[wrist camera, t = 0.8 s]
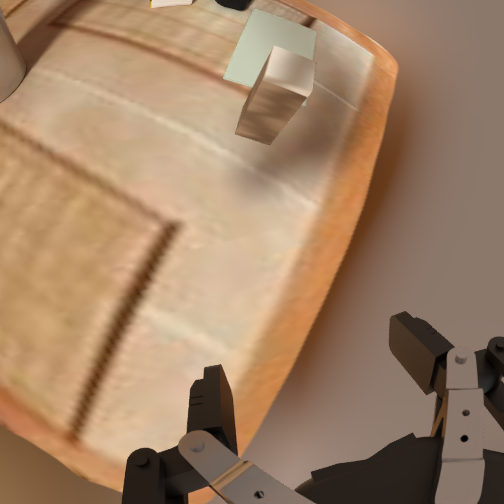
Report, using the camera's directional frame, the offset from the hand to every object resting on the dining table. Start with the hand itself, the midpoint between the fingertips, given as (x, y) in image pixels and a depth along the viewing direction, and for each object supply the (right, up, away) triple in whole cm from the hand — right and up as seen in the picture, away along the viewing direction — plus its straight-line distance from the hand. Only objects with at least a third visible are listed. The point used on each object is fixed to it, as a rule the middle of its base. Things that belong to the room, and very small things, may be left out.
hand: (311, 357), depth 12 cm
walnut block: (-2, +21, +22) cm, 30 cm away
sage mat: (+1, +36, +24) cm, 44 cm away
